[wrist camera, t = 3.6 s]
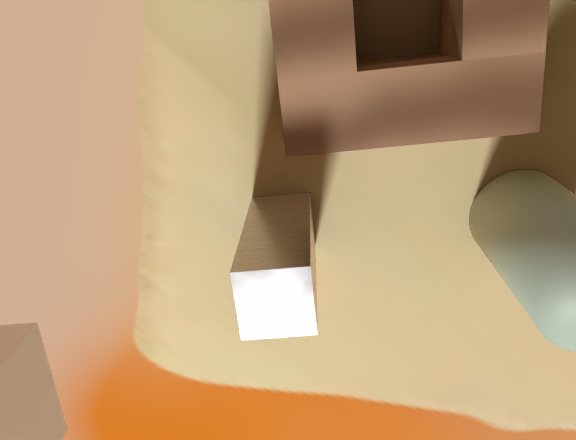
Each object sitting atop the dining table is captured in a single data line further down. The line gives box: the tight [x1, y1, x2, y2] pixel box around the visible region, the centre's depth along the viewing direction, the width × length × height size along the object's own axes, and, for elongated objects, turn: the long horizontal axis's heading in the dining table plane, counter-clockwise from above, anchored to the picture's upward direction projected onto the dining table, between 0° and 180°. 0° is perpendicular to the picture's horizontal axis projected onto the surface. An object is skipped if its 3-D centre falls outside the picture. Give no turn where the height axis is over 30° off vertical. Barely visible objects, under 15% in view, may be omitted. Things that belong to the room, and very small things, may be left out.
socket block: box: [269, 0, 550, 157], centre depth 29 cm, size 14×14×5 cm
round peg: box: [469, 169, 576, 352], centre depth 31 cm, size 6×6×11 cm
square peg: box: [230, 192, 318, 340], centre depth 32 cm, size 4×4×11 cm
